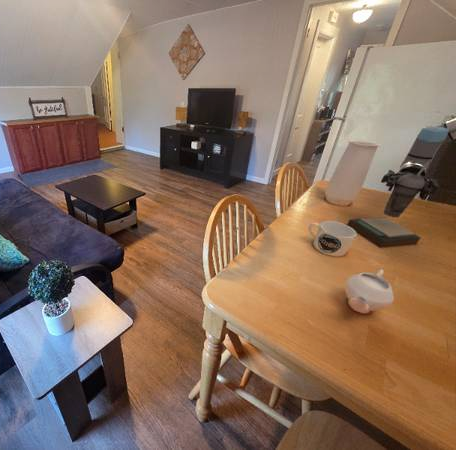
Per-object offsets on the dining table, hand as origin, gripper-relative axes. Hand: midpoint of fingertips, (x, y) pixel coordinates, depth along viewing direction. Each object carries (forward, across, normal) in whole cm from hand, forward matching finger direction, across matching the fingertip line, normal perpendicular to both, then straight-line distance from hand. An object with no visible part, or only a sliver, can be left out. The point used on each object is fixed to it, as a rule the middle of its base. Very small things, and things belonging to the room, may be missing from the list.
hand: (406, 190), depth 81 cm
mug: (+19, +13, -20) cm, 31 cm away
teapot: (+42, -1, -20) cm, 47 cm away
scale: (-5, 0, -20) cm, 20 cm away
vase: (-26, +19, -20) cm, 38 cm away
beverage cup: (-5, 0, -11) cm, 12 cm away
